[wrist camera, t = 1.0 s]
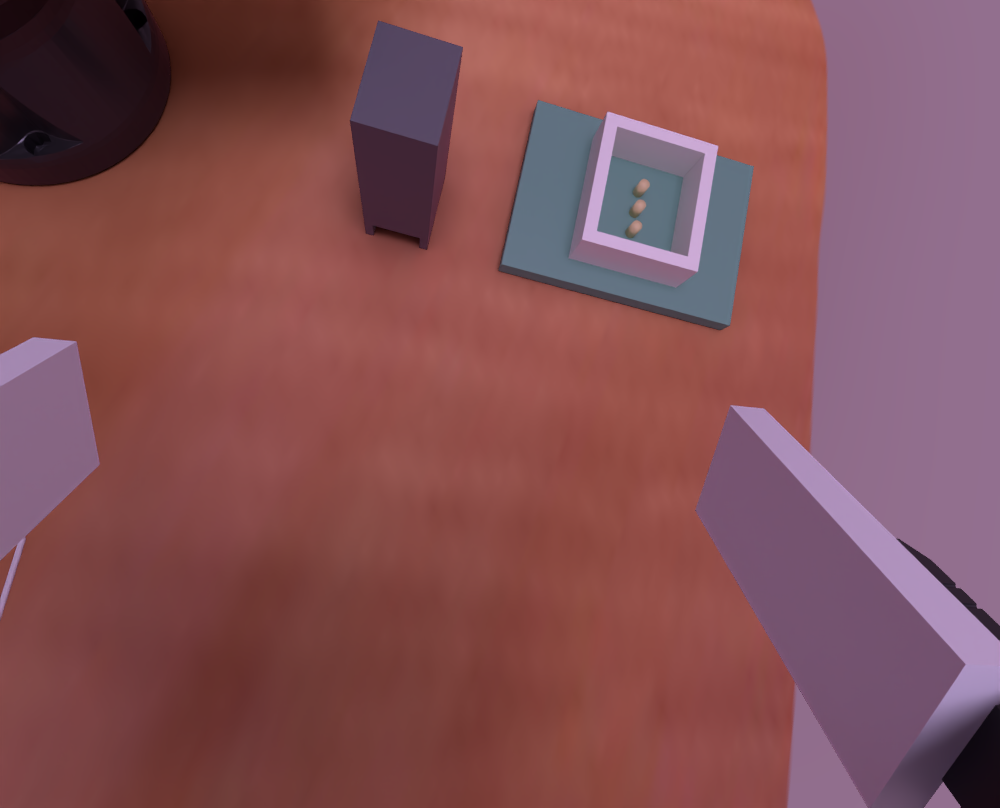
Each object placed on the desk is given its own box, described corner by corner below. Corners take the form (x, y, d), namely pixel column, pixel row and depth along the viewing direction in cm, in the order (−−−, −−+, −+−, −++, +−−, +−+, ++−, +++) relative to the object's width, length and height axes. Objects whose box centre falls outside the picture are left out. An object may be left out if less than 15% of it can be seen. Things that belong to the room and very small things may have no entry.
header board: (498, 270, 39) (509, 245, 35) (534, 111, 41) (548, 69, 37) (720, 330, 41) (755, 312, 37) (744, 175, 43) (780, 142, 39)
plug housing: (366, 233, 38) (350, 120, 26) (385, 160, 39) (378, 20, 27) (426, 249, 39) (438, 146, 27) (444, 177, 39) (462, 47, 28)
